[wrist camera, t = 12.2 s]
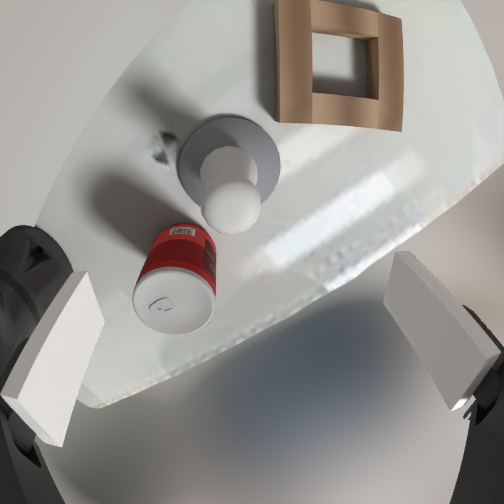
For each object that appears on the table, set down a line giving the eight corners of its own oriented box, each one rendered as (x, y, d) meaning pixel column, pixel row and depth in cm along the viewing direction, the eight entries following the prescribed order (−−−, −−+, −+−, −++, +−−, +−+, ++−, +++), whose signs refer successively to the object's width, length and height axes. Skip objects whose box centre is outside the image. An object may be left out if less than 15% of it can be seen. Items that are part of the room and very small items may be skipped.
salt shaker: (248, 137, 30) (264, 158, 19) (260, 187, 33) (282, 236, 21) (195, 151, 30) (177, 182, 19) (209, 200, 33) (202, 256, 21)
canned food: (141, 246, 35) (115, 300, 26) (188, 207, 34) (175, 253, 24) (181, 287, 39) (171, 347, 29) (229, 253, 37) (232, 310, 27)
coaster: (184, 215, 34) (183, 217, 34) (176, 121, 29) (175, 121, 28) (278, 211, 35) (279, 212, 34) (279, 116, 30) (280, 117, 29)
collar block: (275, 121, 30) (280, 122, 27) (273, 4, 23) (278, -5, 21) (388, 128, 31) (401, 131, 28) (388, 23, 24) (401, 19, 22)
